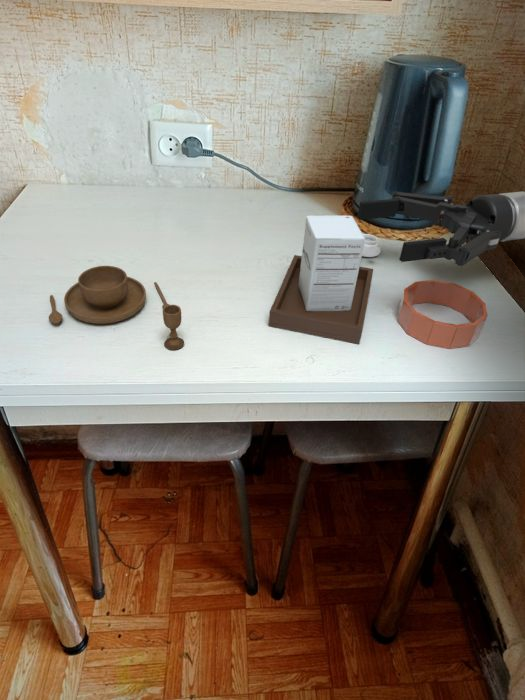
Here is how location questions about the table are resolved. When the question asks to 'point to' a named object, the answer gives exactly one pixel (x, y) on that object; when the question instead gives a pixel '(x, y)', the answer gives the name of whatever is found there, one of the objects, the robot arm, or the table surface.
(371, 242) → the white jar
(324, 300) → the white packaging box
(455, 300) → the terracotta ring
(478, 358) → the table surface
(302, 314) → the tray
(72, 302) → the place setting
